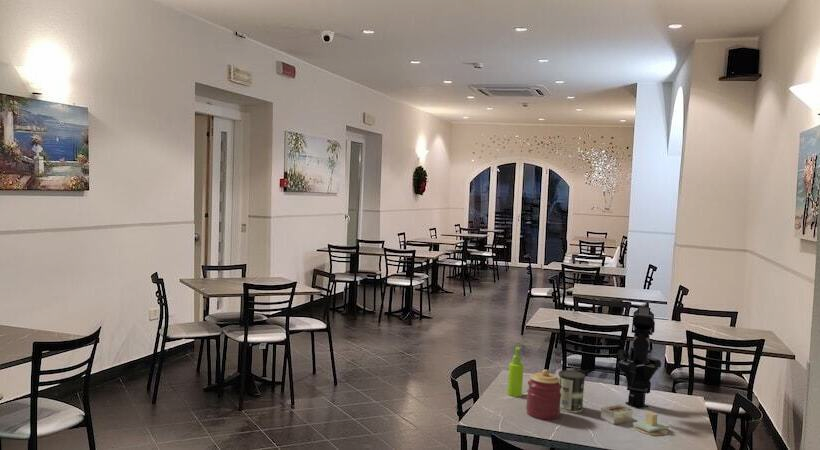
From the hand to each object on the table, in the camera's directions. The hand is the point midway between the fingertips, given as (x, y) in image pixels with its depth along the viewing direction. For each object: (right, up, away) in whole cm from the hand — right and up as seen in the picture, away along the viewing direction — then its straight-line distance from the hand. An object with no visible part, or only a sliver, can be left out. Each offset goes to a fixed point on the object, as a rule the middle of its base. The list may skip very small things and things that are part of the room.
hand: (637, 385), depth 252 cm
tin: (-11, -12, -6) cm, 17 cm away
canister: (-38, -10, -4) cm, 40 cm away
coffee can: (-26, -11, +4) cm, 28 cm away
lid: (0, -12, -14) cm, 18 cm away
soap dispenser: (-46, -9, +18) cm, 50 cm away
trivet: (0, -13, -14) cm, 19 cm away
